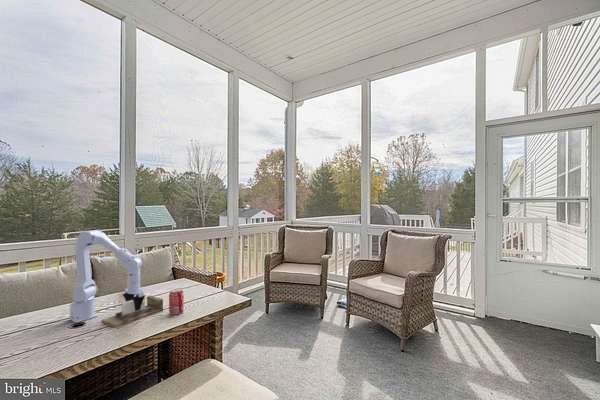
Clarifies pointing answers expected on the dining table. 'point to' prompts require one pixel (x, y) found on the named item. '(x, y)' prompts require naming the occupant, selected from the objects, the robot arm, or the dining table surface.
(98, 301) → the dining table surface
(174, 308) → the soda can
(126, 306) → the door panel
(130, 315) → the board
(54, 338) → the dining table surface
